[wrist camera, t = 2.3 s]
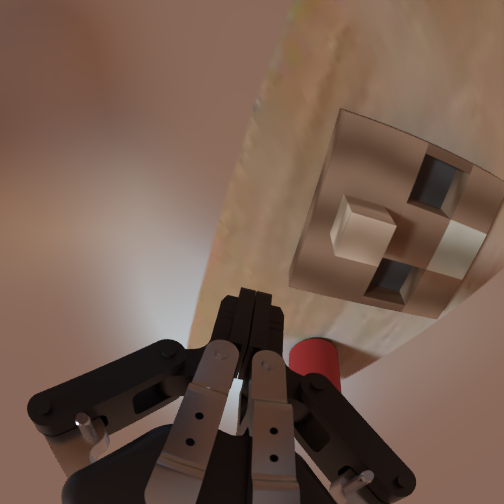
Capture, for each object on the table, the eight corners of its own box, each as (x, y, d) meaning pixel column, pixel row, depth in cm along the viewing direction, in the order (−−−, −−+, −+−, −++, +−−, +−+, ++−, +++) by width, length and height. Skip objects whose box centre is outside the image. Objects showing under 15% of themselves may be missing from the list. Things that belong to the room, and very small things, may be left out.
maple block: (344, 194, 27) (351, 212, 23) (384, 206, 27) (396, 225, 23) (329, 233, 29) (334, 255, 25) (368, 243, 29) (377, 266, 25)
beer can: (322, 371, 43) (325, 442, 33) (281, 359, 43) (276, 434, 32) (346, 343, 40) (355, 420, 30) (302, 329, 39) (302, 409, 29)
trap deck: (340, 108, 25) (345, 111, 23) (494, 175, 26) (508, 184, 23) (289, 270, 35) (288, 287, 32) (429, 303, 35) (437, 319, 33)
